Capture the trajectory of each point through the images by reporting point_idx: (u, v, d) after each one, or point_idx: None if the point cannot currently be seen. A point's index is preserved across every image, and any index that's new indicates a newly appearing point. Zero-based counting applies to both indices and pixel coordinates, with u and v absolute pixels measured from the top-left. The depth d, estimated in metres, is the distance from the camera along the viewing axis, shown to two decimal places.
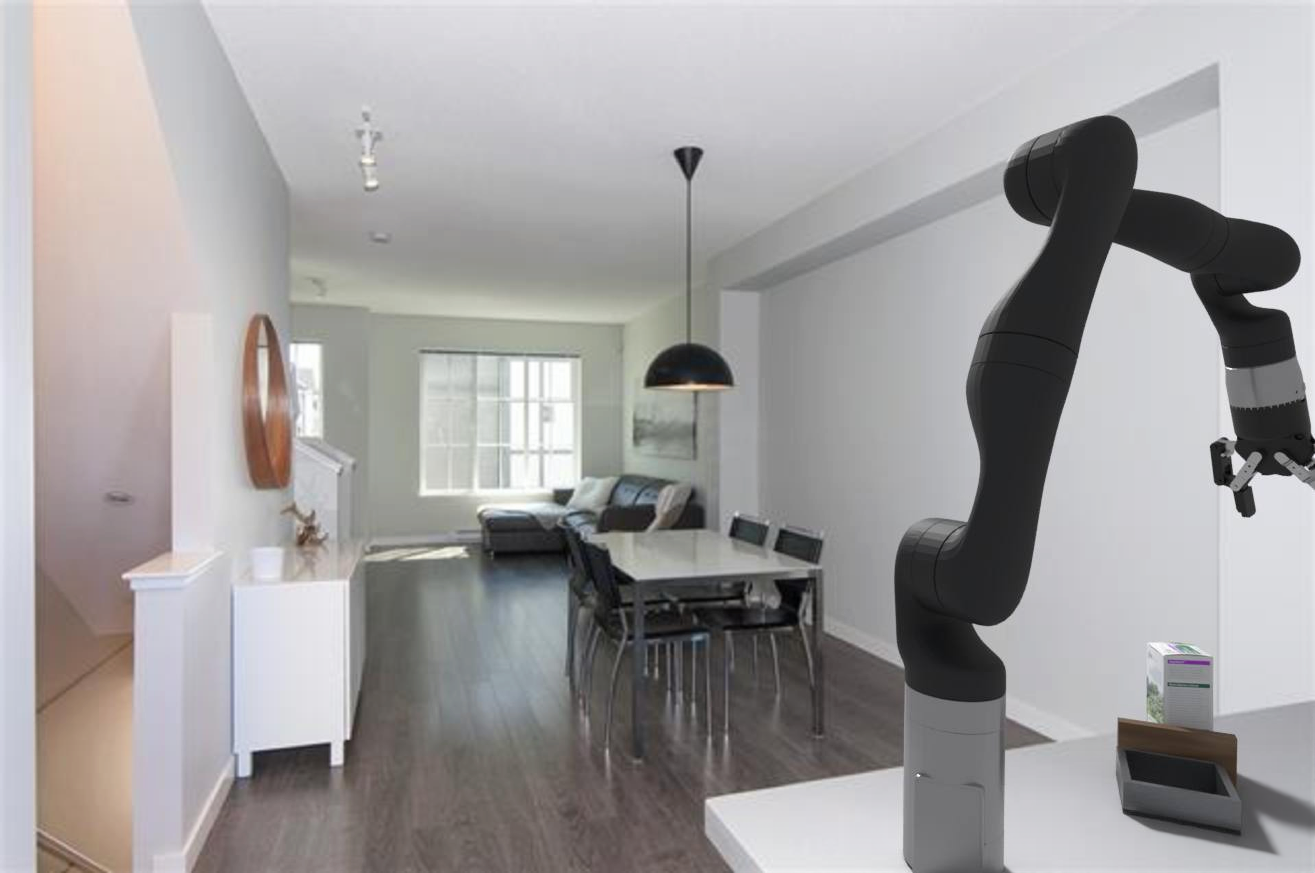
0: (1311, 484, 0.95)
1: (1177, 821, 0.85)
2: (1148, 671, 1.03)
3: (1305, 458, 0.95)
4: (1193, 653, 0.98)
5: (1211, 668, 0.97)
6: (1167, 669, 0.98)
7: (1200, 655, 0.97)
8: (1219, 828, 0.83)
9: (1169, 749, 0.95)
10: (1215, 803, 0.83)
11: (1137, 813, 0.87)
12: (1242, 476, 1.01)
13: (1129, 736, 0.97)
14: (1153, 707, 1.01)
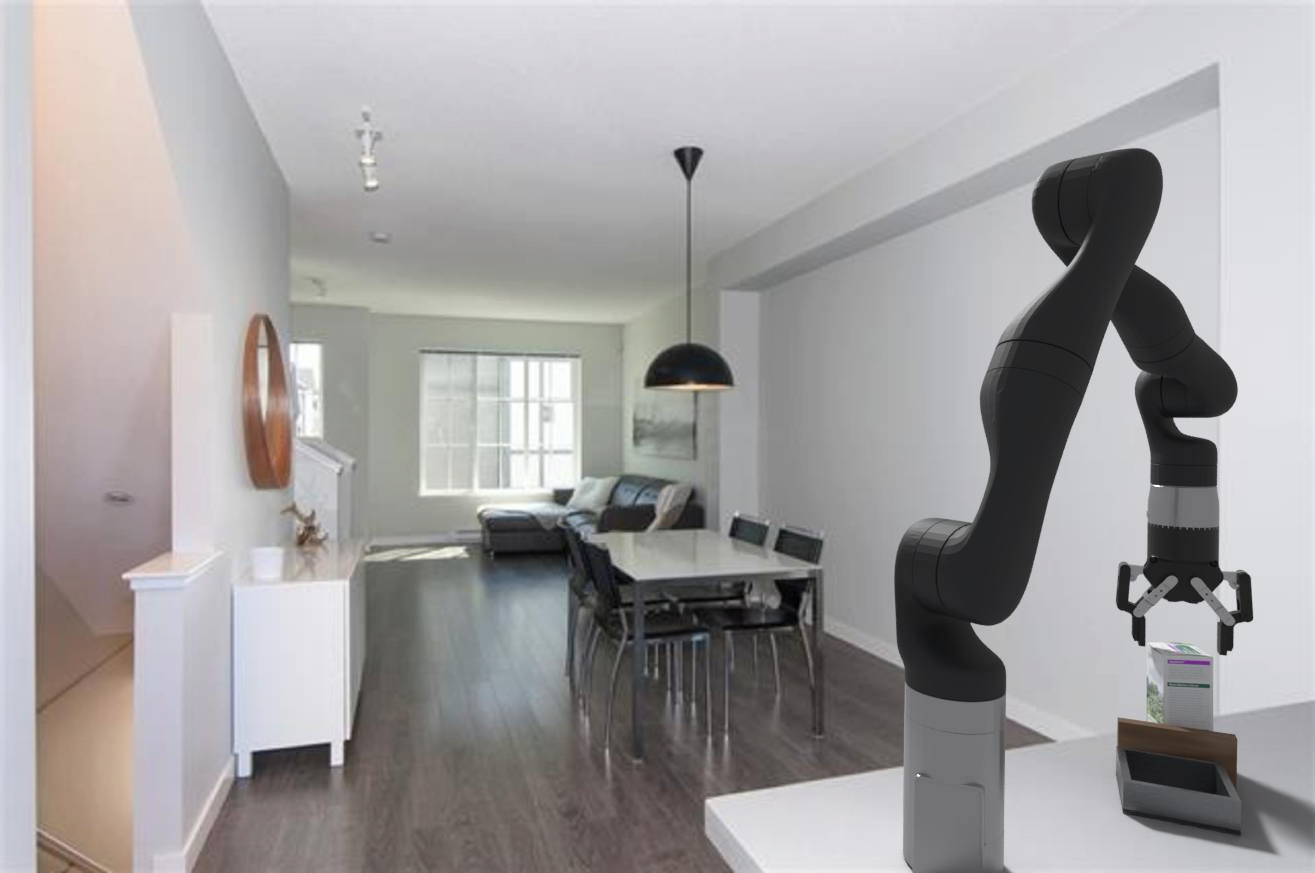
0: (1218, 613, 0.97)
1: (1177, 821, 0.85)
2: (1148, 671, 1.03)
3: (1215, 586, 0.97)
4: (1193, 653, 0.98)
5: (1211, 668, 0.97)
6: (1167, 669, 0.98)
7: (1200, 655, 0.97)
8: (1219, 828, 0.83)
9: (1169, 749, 0.95)
10: (1215, 803, 0.83)
11: (1137, 813, 0.87)
12: (1151, 601, 1.00)
13: (1129, 736, 0.97)
14: (1153, 707, 1.01)
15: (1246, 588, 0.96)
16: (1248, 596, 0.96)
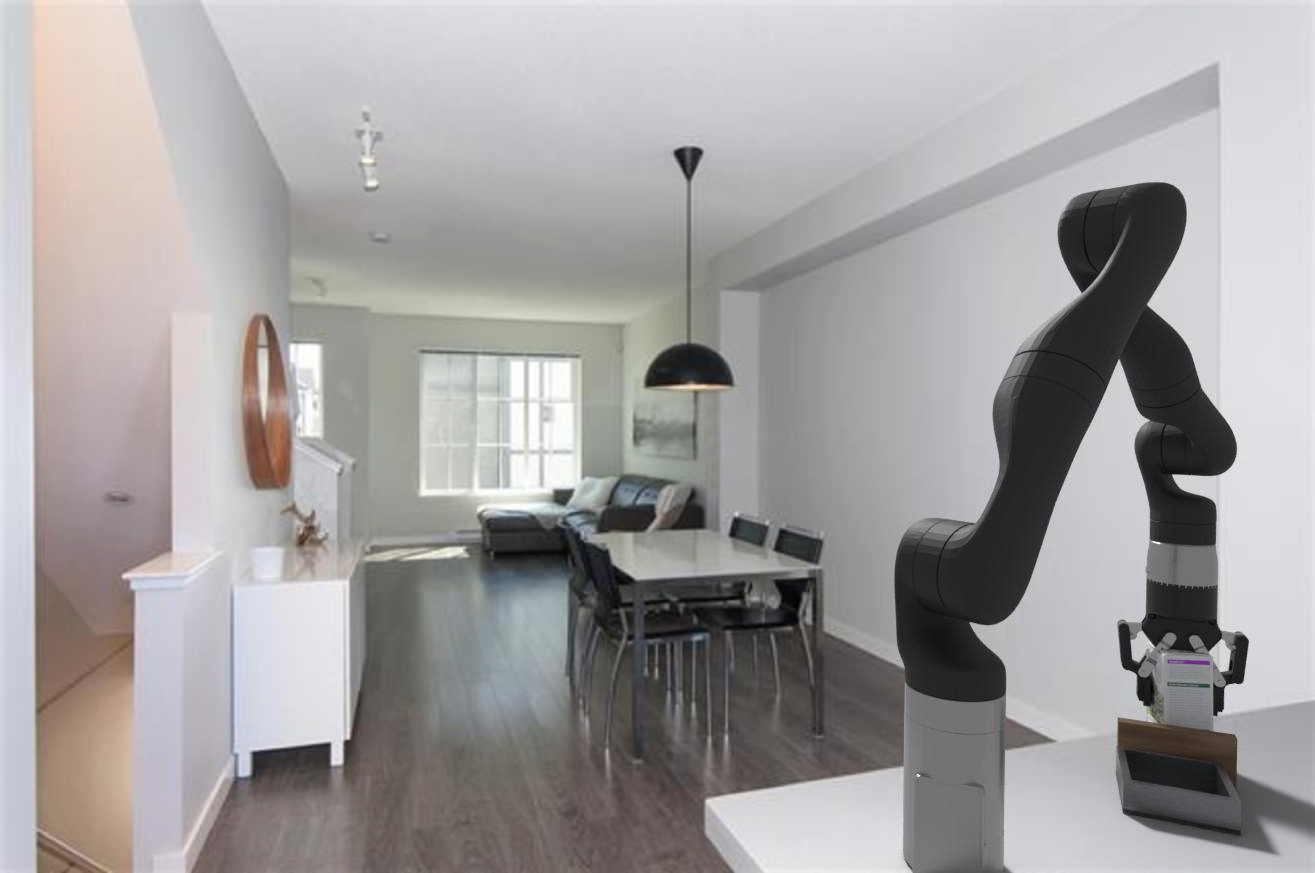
0: None
1: (1177, 821, 0.85)
2: None
3: (1213, 646, 0.98)
4: (1193, 653, 0.98)
5: (1211, 668, 0.97)
6: (1167, 669, 0.98)
7: (1200, 655, 0.97)
8: (1219, 828, 0.83)
9: (1169, 749, 0.95)
10: (1215, 803, 0.83)
11: (1137, 813, 0.87)
12: (1154, 660, 1.00)
13: (1129, 736, 0.97)
14: (1153, 707, 1.01)
15: (1242, 651, 0.96)
16: (1243, 659, 0.96)
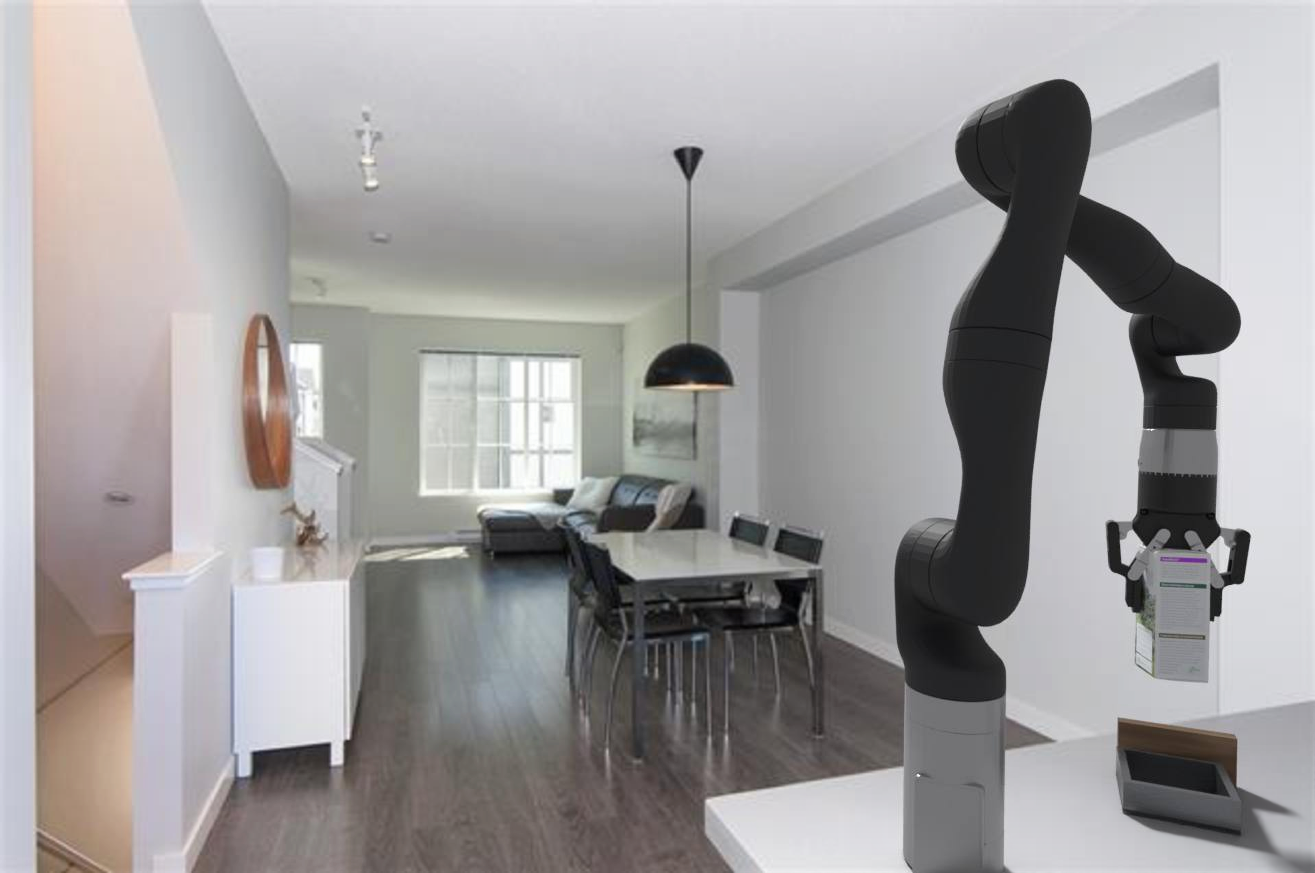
0: None
1: (1177, 821, 0.85)
2: None
3: (1210, 544, 0.88)
4: (1189, 550, 0.88)
5: (1208, 566, 0.87)
6: (1159, 568, 0.88)
7: (1196, 552, 0.88)
8: (1219, 828, 0.83)
9: (1169, 749, 0.95)
10: (1215, 803, 0.83)
11: (1137, 813, 0.87)
12: (1145, 560, 0.90)
13: (1129, 736, 0.97)
14: (1143, 613, 0.91)
15: (1243, 547, 0.87)
16: (1243, 556, 0.87)
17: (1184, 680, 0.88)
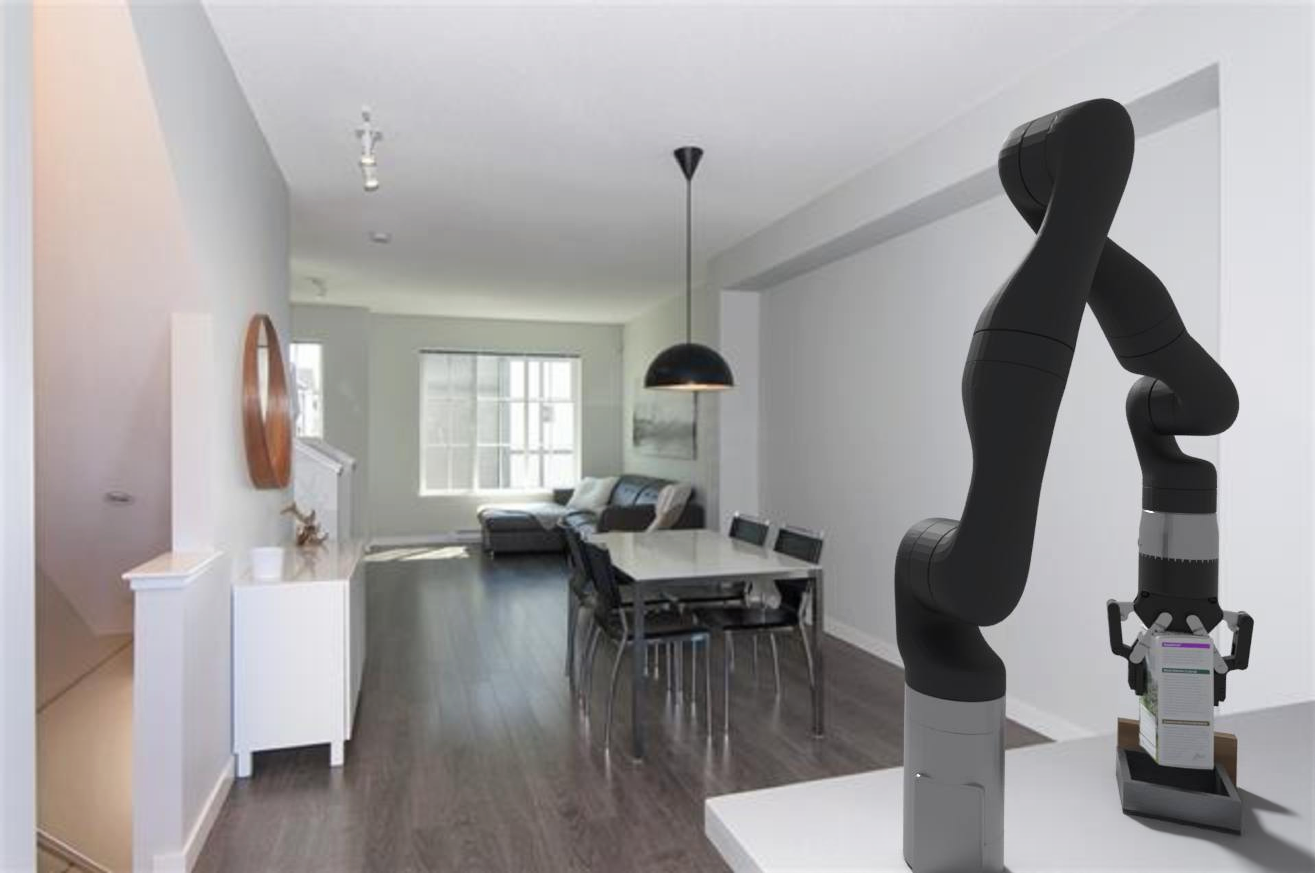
0: None
1: (1177, 821, 0.85)
2: None
3: (1213, 628, 0.87)
4: (1191, 635, 0.87)
5: (1211, 652, 0.86)
6: (1161, 653, 0.87)
7: (1199, 637, 0.86)
8: (1219, 828, 0.83)
9: None
10: (1215, 803, 0.83)
11: (1137, 813, 0.87)
12: (1147, 643, 0.89)
13: (1129, 736, 0.97)
14: (1146, 696, 0.90)
15: (1246, 632, 0.85)
16: (1247, 642, 0.85)
17: (1189, 766, 0.87)
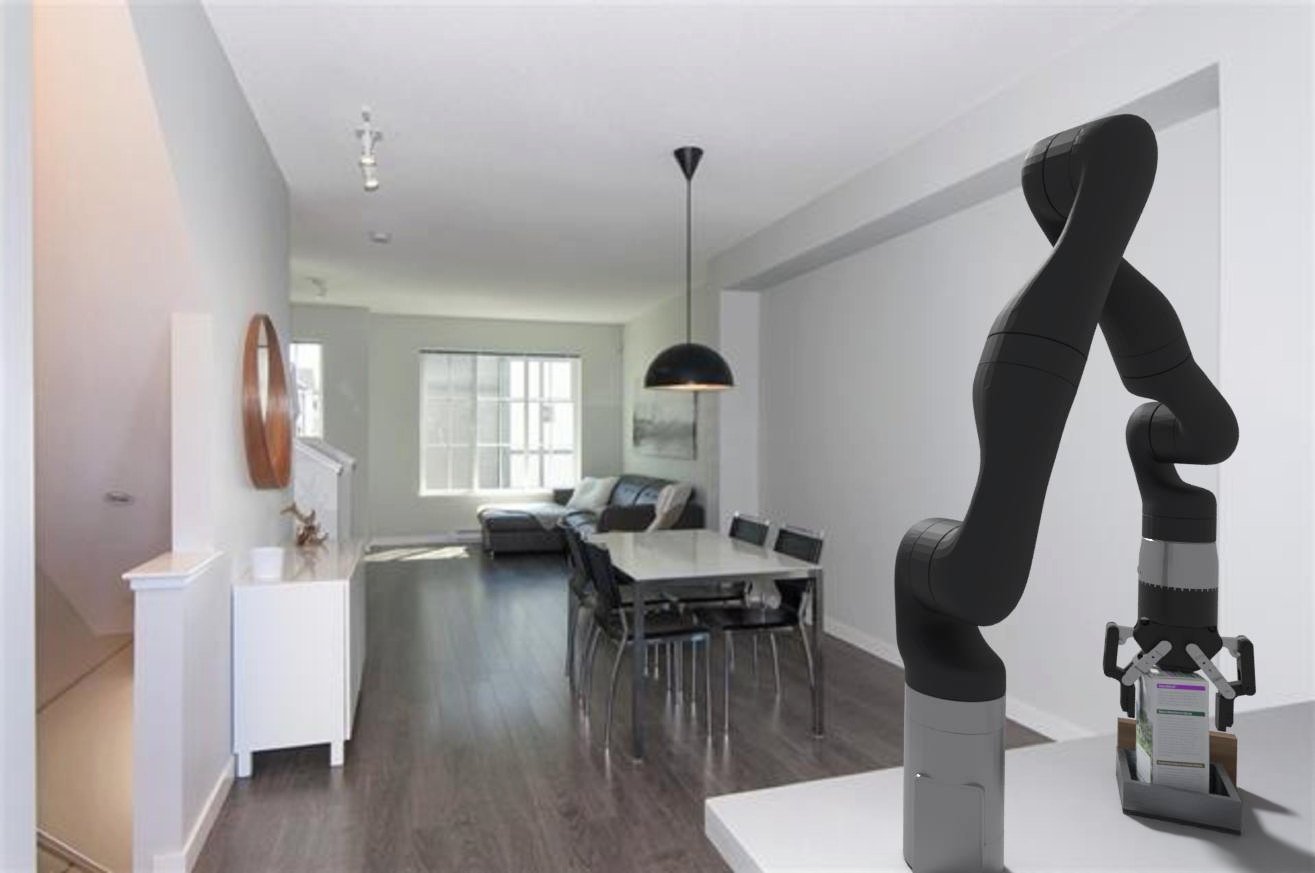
0: (1217, 684, 0.87)
1: (1177, 821, 0.85)
2: (1137, 695, 0.92)
3: (1214, 653, 0.87)
4: (1186, 677, 0.87)
5: (1206, 694, 0.86)
6: (1156, 694, 0.87)
7: (1194, 679, 0.86)
8: (1219, 828, 0.83)
9: None
10: (1215, 803, 0.83)
11: (1137, 813, 0.87)
12: (1142, 668, 0.89)
13: (1129, 736, 0.97)
14: (1142, 736, 0.90)
15: (1248, 657, 0.85)
16: (1250, 666, 0.85)
17: None
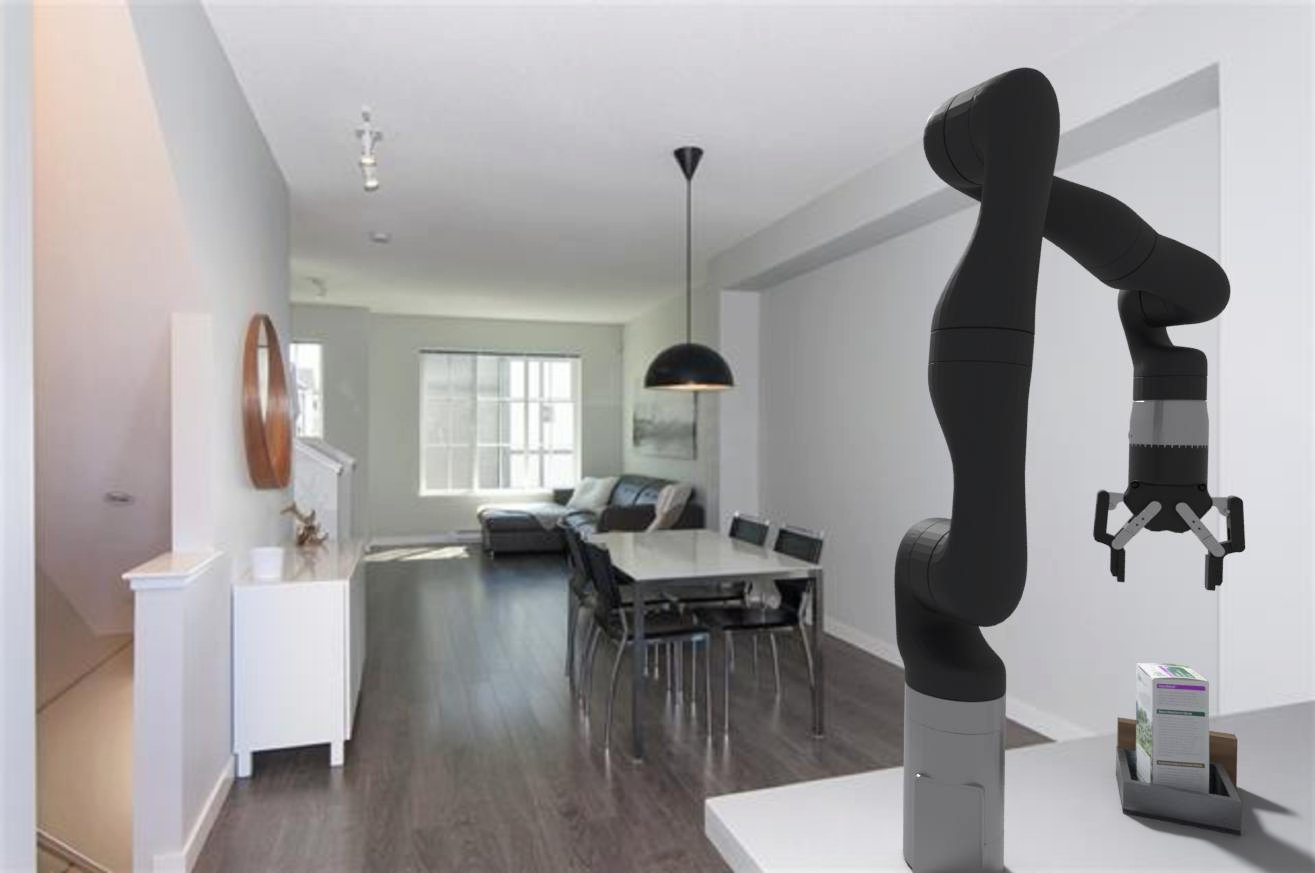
0: (1206, 542, 0.87)
1: (1177, 821, 0.85)
2: (1137, 695, 0.92)
3: (1203, 513, 0.87)
4: (1186, 677, 0.87)
5: (1206, 694, 0.86)
6: (1156, 694, 0.87)
7: (1194, 679, 0.86)
8: (1219, 828, 0.83)
9: None
10: (1215, 803, 0.83)
11: (1137, 813, 0.87)
12: (1132, 530, 0.89)
13: (1129, 736, 0.97)
14: (1142, 736, 0.90)
15: (1238, 514, 0.85)
16: (1240, 523, 0.85)
17: None
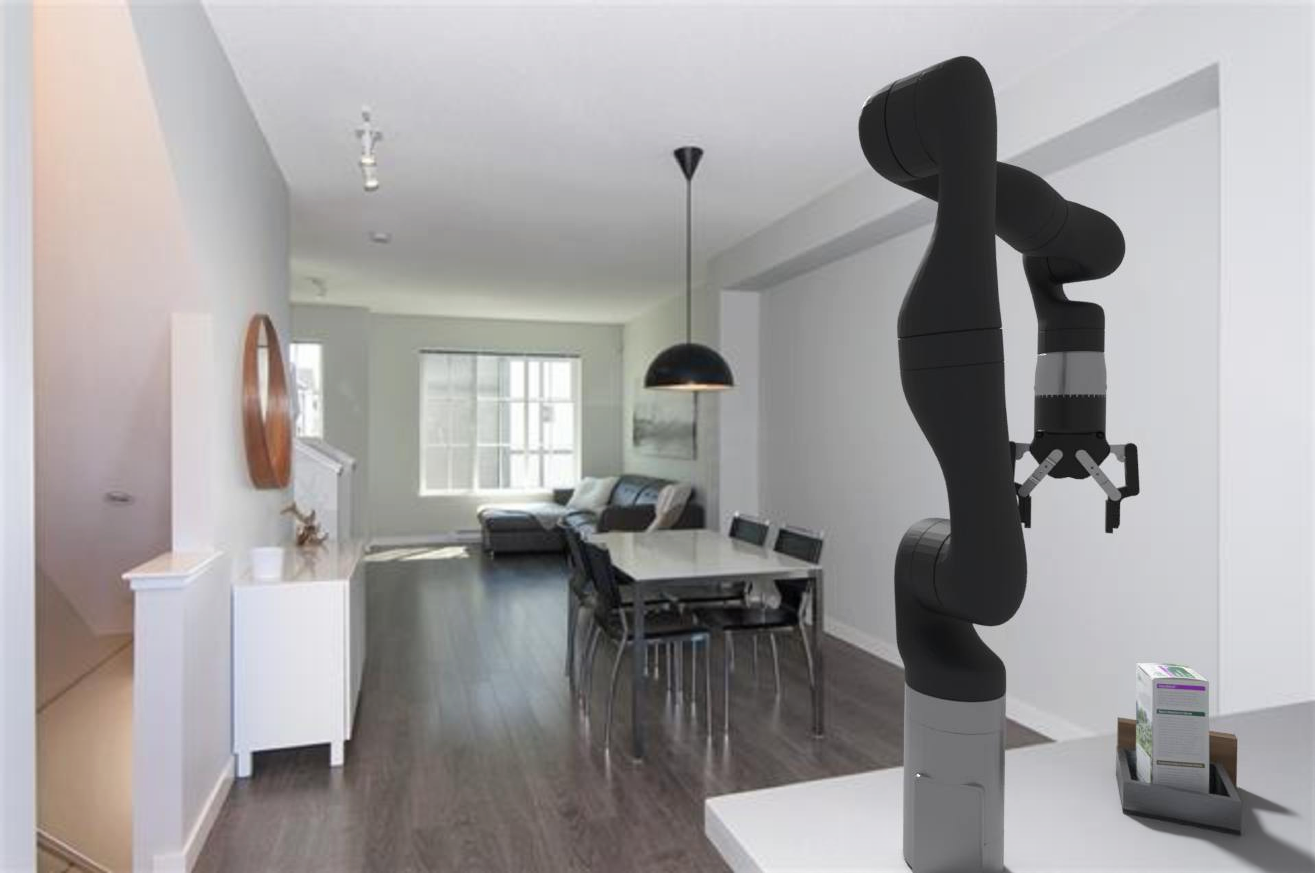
0: (1104, 487, 0.91)
1: (1177, 821, 0.85)
2: (1137, 695, 0.92)
3: (1102, 459, 0.91)
4: (1186, 677, 0.87)
5: (1206, 694, 0.86)
6: (1156, 694, 0.87)
7: (1194, 679, 0.86)
8: (1219, 828, 0.83)
9: None
10: (1215, 803, 0.83)
11: (1137, 813, 0.87)
12: (1036, 478, 0.94)
13: (1129, 736, 0.97)
14: (1142, 736, 0.90)
15: (1132, 459, 0.90)
16: (1134, 468, 0.90)
17: None
